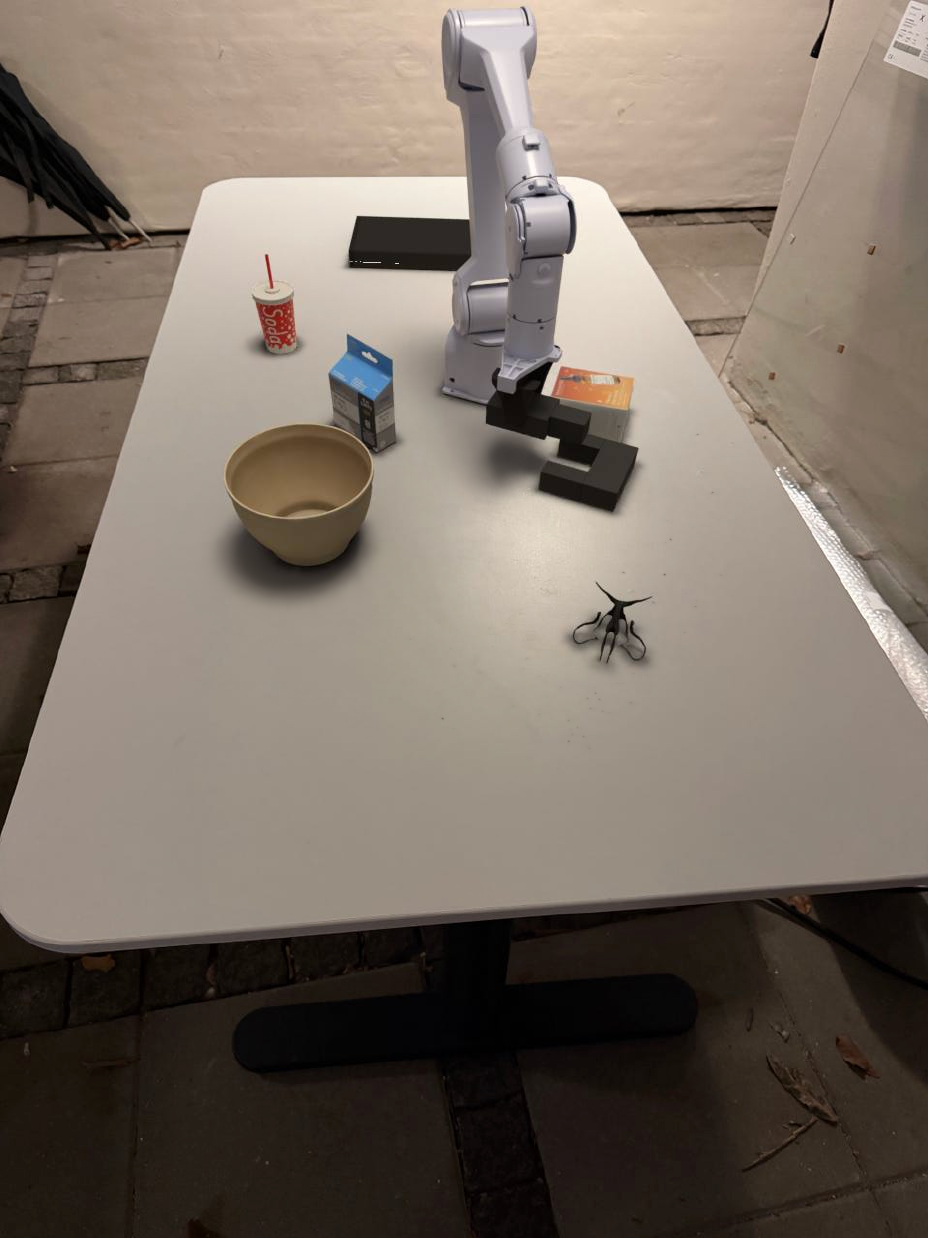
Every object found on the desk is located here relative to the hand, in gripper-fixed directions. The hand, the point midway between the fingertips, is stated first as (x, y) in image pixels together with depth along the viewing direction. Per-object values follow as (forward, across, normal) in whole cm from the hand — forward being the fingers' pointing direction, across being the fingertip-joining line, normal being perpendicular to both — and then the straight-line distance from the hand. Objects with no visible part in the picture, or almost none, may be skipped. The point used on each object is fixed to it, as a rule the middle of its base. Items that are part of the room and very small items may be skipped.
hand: (522, 412), depth 98 cm
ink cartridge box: (+7, -4, +21) cm, 22 cm away
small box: (+4, +13, -11) cm, 18 cm away
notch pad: (+7, 0, -10) cm, 12 cm away
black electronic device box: (+7, +48, +38) cm, 62 cm away
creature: (+7, -25, -20) cm, 33 cm away
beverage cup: (+7, +10, +43) cm, 45 cm away
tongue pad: (+1, 0, -2) cm, 3 cm away
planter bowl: (+7, -25, +17) cm, 31 cm away
